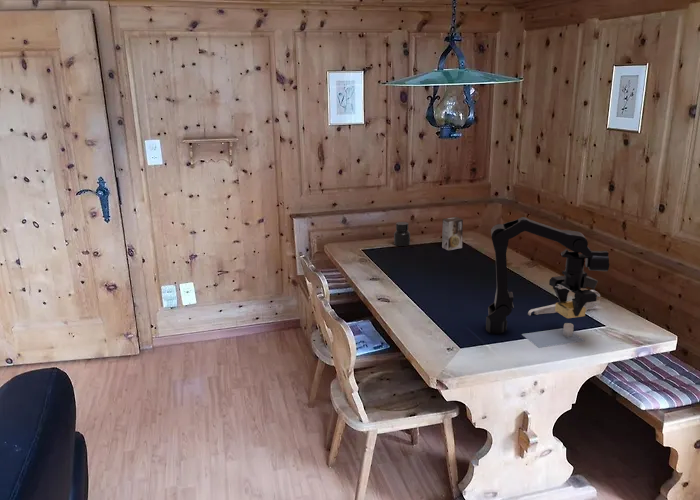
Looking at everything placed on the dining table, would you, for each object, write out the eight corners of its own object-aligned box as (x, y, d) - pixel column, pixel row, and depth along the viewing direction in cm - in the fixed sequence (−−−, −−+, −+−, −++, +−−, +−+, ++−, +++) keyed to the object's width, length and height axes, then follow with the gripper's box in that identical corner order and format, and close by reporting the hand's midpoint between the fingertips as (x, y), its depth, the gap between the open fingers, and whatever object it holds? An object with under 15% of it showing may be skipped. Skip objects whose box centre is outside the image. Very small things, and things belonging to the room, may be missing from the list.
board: (538, 350, 192) (539, 336, 190) (521, 336, 202) (522, 323, 200) (584, 343, 196) (586, 330, 194) (565, 330, 206) (566, 317, 205)
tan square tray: (567, 318, 193) (568, 310, 193) (554, 310, 200) (555, 302, 199) (584, 316, 195) (585, 307, 194) (572, 308, 202) (573, 300, 201)
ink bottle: (411, 242, 318) (412, 221, 315) (409, 247, 310) (410, 225, 306) (394, 241, 320) (394, 221, 317) (392, 246, 312) (392, 224, 309)
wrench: (528, 323, 220) (597, 307, 225) (530, 325, 218) (600, 308, 223) (527, 304, 217) (597, 288, 222) (529, 306, 216) (600, 289, 221)
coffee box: (455, 245, 311) (456, 216, 307) (462, 248, 306) (463, 219, 301) (441, 247, 308) (442, 218, 303) (448, 250, 302) (449, 221, 297)
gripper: (613, 275, 186) (608, 319, 191) (577, 259, 203) (573, 299, 208) (584, 279, 183) (579, 323, 188) (550, 262, 201) (546, 303, 205)
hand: (569, 312), depth 197 cm, fingers closed on tan square tray, 7 cm apart
